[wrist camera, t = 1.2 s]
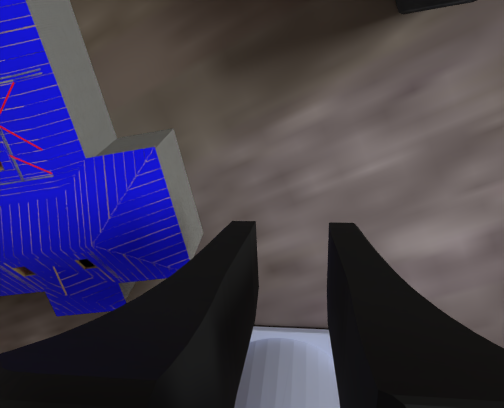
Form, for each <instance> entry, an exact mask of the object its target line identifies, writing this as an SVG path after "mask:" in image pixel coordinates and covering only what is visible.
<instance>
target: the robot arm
mask: <svg viewBox="0 0 504 408" xmlns="http://www.w3.org/2000/svg"><path fill="white" fill-rule="evenodd" d="M258 289H259V282H258V261H257V240H256V221H232V222H231V223H230V224H229V225H228V226H226V227H225V228H224V229H223V230H222V231H221V232H220V233H219V234H218V235H217V236H216V237H215V238H214V239H213V240H212V241H211V242H210V243H209V244H208V245H207V246H206V247H204V248H203V249H202V250H201V251H200V252H199V253H198V254H197V255H196V256H195V257H193V258H192V259H191V260H190V261H189V262H187V263H186V264H185V265H184V266H182V267H181V268H180V269H179V270H177V271H176V272H175V273H174V274H172V275H171V276H170V277H168V278H167V279H165V280H164V281H163V282H161V283H160V284H158V285H157V286H155V287H154V288H152V289H150V290H149V291H147V292H146V293H144V294H143V295H141V296H139V297H138V298H136V299H134V300H132V301H130V302H128V303H126V304H124V305H123V306H121V307H119V308H117V309H115V310H113V311H111V312H109V313H107V314H106V315H103V316H101V317H99V318H97V319H95V320H93V321H90V322H88V323H86V324H84V325H81V326H79V327H76V328H74V329H71V330H69V331H66V332H64V333H61V334H59V335H56V336H53V337H51V338H48V339H45V340H42V341H39V342H36V343H33V344H29V345H26V346H23V347H20V348H17V349H14V350H11V351H8V352H5V353H1V354H0V408H504V348H502V347H500V346H498V345H496V344H494V343H492V342H491V341H489V340H487V339H485V338H484V337H482V336H480V335H478V334H477V333H475V332H473V331H472V330H470V329H469V328H467V327H465V326H464V325H462V324H461V323H459V322H458V321H456V320H454V319H453V318H451V317H450V316H448V315H447V314H445V313H444V312H443V311H441V310H440V309H438V308H437V307H436V306H434V305H433V304H432V303H431V302H429V301H428V300H427V299H425V298H424V297H423V296H421V295H420V294H419V293H418V292H417V291H415V290H414V289H413V288H412V287H411V286H410V285H408V284H407V283H406V282H405V281H404V280H403V279H402V278H401V277H400V276H399V275H398V274H397V273H396V272H395V271H394V270H393V269H392V268H391V267H390V266H389V265H388V263H387V262H386V261H385V260H384V259H383V258H382V257H381V256H380V255H379V253H378V252H377V251H376V250H375V249H374V247H373V246H372V245H371V244H370V243H369V241H368V240H367V239H366V237H365V236H364V235H363V233H362V232H361V231H360V229H359V228H358V227H357V226H356V225H355V224H354V223H329V241H328V271H327V312H328V328H329V330H325V329H302V328H280V327H257V326H254V322H255V316H256V308H257V299H258Z"/></svg>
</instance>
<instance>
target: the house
mask: <svg viewBox="0 0 504 408" xmlns="http://www.w3.org/2000/svg"><path fill="white" fill-rule="evenodd" d="M202 235H203V230H202V226H201V223H200V219H199V216H198V212H197V209H196V206H195V202H194V199H193V195H192V192H191V188H190V185H189V181H188V178H187V174H186V171H185V167H184V164H183V160H182V157H181V153H180V150H179V146H178V143H177V139H176V136H175V132H174V129H168V130H162V131H156V132H150V133H145V134H139V135H133V136H127V137H122V138H117V137H116V134H115V131H114V128H113V125H112V122H111V119H110V116H109V114H108V111H107V108H106V105H105V102H104V99H103V96H102V93H101V90H100V87H99V84H98V82H97V79H96V76H95V73H94V70H93V67H92V64H91V61H90V58H89V55H88V53H87V50H86V47H85V44H84V41H83V38H82V35H81V32H80V29H79V26H78V23H77V21H76V18H75V15H74V12H73V9H72V6H71V3H70V0H0V296H6V295H15V294H24V293H34V292H43V291H45V293H46V295H47V297H48V299H49V301H50V303H51V305H52V308H53V310H54V312H55V314H56V316H65V315H76V314H86V313H96V312H107V311H113V310H115V309H117V308H119V307H121V306H123V305H124V304H126V301H125V300H126V298H127V296H128V295H129V293H130V291H131V289H132V288H133V286H134V284H135V282H136V281H144V280H153V279H162V278H168V277H170V276H171V275H172V274H174V273H175V272H176V271H177V270H179V269H180V268H181V267H182V266H184V265H185V264H186V263H187V262H189V261H190V260H191V259H192V258H193V257H194V254H195V252H196V250H197V247H198V245H199V242H200V240H201V238H202ZM88 260H89V261H90V262H91V263H92V264H93V265H95V267H91V266H90V263H89V261H88Z"/></svg>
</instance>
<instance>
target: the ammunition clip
mask: <svg viewBox="0 0 504 408" xmlns="http://www.w3.org/2000/svg"><path fill="white" fill-rule="evenodd" d="M474 1H476V0H396V4H397V8H398V12H399V13H401V14H407V13H413V12H419V11H424V10H430V9H436V8H442V7H447V6H453V5H459V4H464V3H470V2H474Z"/></svg>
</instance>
